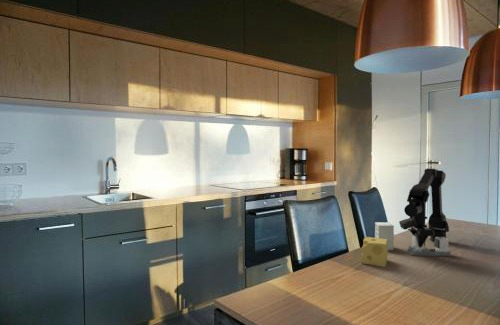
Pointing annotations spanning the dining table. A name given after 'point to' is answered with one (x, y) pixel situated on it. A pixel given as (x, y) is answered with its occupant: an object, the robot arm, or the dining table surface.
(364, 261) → the cheese
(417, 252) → the rail
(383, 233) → the supplement box
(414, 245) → the block
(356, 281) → the dining table surface
